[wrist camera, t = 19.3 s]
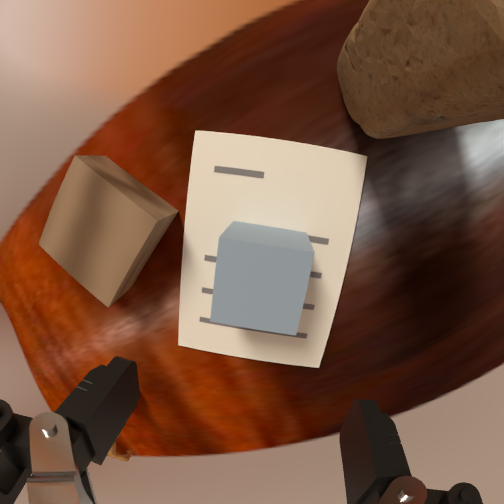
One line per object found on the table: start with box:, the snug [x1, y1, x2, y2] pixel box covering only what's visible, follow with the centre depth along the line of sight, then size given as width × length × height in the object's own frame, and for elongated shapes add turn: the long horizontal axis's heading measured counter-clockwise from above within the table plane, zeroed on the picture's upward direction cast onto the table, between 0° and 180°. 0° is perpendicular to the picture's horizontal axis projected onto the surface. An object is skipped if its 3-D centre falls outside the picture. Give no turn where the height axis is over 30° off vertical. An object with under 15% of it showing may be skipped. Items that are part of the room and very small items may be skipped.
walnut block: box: [39, 156, 179, 307], centre depth 24 cm, size 9×9×5 cm
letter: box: [178, 131, 367, 368], centre depth 26 cm, size 14×20×1 cm
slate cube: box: [210, 221, 315, 335], centre depth 22 cm, size 6×6×6 cm
